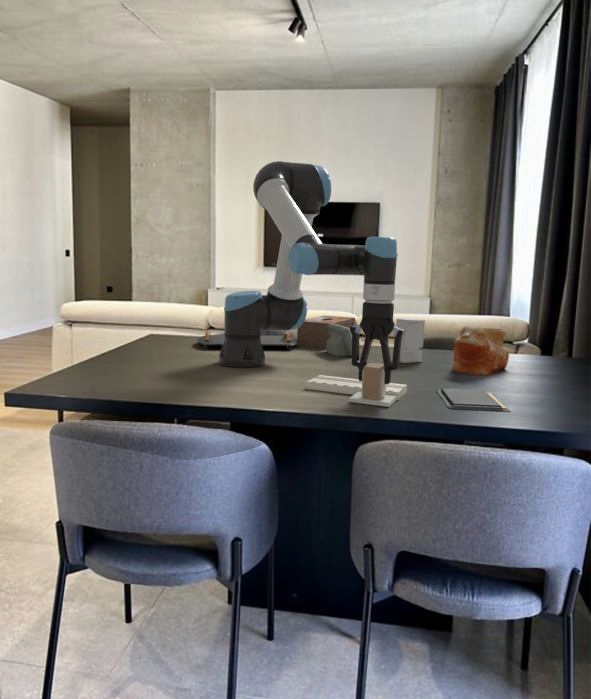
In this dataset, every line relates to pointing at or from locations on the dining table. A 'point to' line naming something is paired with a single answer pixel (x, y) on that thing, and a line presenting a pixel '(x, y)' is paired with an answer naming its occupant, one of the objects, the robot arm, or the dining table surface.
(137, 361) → the dining table surface
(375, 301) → the robot arm
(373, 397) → the stub
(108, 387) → the dining table surface
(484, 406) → the wallet
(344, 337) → the digital clock
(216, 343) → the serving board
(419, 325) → the skincare box
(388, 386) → the pad
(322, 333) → the tissue box cover
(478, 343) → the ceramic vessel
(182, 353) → the dining table surface
